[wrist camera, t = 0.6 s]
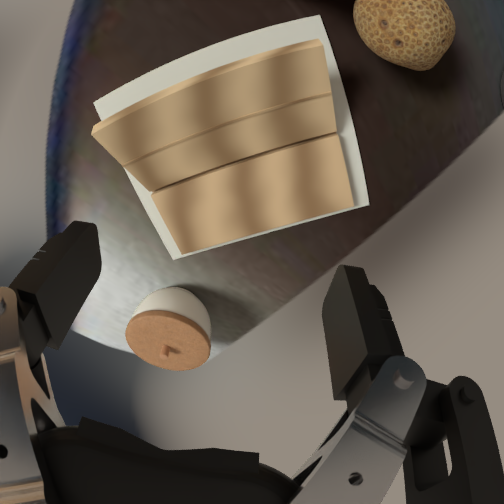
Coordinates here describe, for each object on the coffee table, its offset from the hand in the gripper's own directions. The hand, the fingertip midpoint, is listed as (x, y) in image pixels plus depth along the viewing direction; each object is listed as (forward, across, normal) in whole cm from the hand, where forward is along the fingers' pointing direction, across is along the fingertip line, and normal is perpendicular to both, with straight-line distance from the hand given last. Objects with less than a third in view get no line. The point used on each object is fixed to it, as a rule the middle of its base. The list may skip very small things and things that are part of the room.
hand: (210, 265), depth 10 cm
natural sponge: (+23, -11, -13) cm, 29 cm away
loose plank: (+20, +3, -1) cm, 20 cm away
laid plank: (+23, -2, +8) cm, 24 cm away
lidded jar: (+23, +6, +25) cm, 34 cm away
